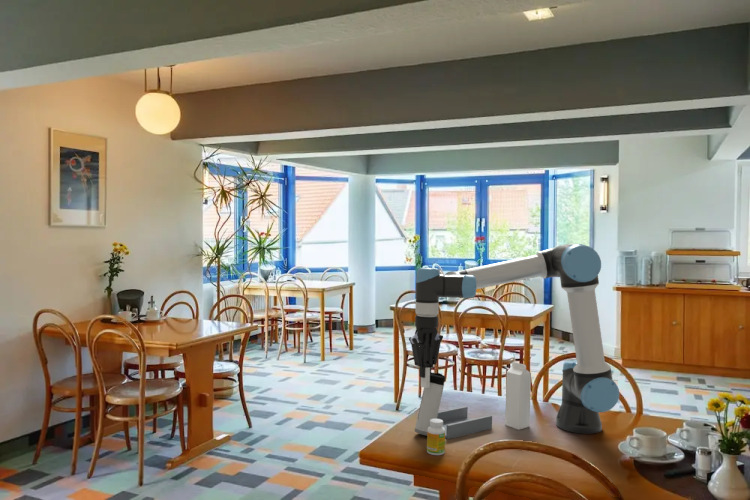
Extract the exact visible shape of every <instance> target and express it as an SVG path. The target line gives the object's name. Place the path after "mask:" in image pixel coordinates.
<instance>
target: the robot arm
mask: <svg viewBox="0 0 750 500" xmlns="http://www.w3.org/2000/svg"><path fill="white" fill-rule="evenodd" d="M601 268H602V261H601V257H600V255H599V254H598V252H597V251H596V250H595V249H594V248H593V247H591V246H588V245H585V244H582V243H565V244H561V245H557V246H554V247H551V248H547V249H544V250H540V251H537V252H536V253H535V254H534V255H531V256H525V257H524V256H523V257H521V258H514V259H510V260H506V261H505V260H504V261H501V262H496V263H490V264H486V265H480V266H475V267H471V268H467V269H466V268H465V269H461V270H457V271H454V270H453V271H448V272H446V273H443V274H442V273H441V272H440V269H439V268H437V267H420V268H418V269H417V270H416V276H415V277H416V278H415V312H414V313H415V314H416V315H415V316H414V326H415V332H414V335H413V336H412V337H411V336H410V337H408V342H409V343H410V345H411V351H412V357H413V363H414V365H415V366H417V367H419V377H420V387H421V388H423V389H424V388H430V377H431V373H432V368H434V367H435V366H434V365H437V362H438V358H439V352H440V347H441V343H442V341H443V339H444V335H442V334H440V333H438V332H439V331H438V329H437V328H438V327H439V316H438V315H439V309H440V308H439V303H440V302H439V298H457V299H458V298H460V299H470V298H471V299H472V298H475V297H476V294H477V290H478V289H479V290H480V289H483V288H488V287H489V288H491V287H493V286H499V285H503V284H509V283H512V282H513V283H514V282H519V281H526V280H528V279H529V280H530V279H534V278H539V277H541V278H542V279H549V278H559V279H560V287H561V289H562V290H564V291H565V292H566V295H567V301H568V302H567V303H568V308H569V315H570V322H571V329H572V337H573V343H574V351H575V357H576V360H566V361H565V362H563V366H562V371H561V372H562V384H561V387H562V388H561V404H560V407H559V408H558V412H557V414H556V419H555V425H556V426H557V427H558V428H559V429H561V430H564V431H566V432H571V433H575V434H576V433H577V434H585V435H591V434H593V435H594V434H598V433H600V432H602V430H603V429H602V428H603V426H602V425H603V424H602V420H601V417H600V413H605V412H609V411H610V410H612V409H613V408H614V407H615V406H616V404H618V402H619V399H620V389H619V387H618V385H617V384H616V383H617V382H615V380H613V375H612V367H611V365H610V364H608V363H607V362H606V361H605V352H604V346H603V340H602V338H603V337H602V332H601V324H600V318H599V317H600V316H599V311H598V304H597V303H598V302H597V296H596V288H597V287H598V285H599V284H600V281H599V274H600V273H601Z"/></svg>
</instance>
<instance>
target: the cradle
mask: <svg viewBox="0 0 750 500" xmlns="http://www.w3.org/2000/svg"><path fill="white" fill-rule="evenodd" d="M468 408H469V407H468V406H467V405H464V406H461V407H455V408H451V409H446V410H441V411H440V410H439V411H438V415H437V419H441V420H443V426H442V427H443V428H444V429H445V439H447V440H451V439H455V438H459V437H463V436H468V435H472V434H475V433H479V432H484V431H488V430H492V429H493V415H491V414H490V415H485V416H480V417H475V418H471V417H469V416H468V412H469V411H468Z"/></svg>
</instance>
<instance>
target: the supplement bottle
mask: <svg viewBox="0 0 750 500" xmlns="http://www.w3.org/2000/svg"><path fill="white" fill-rule="evenodd" d="M442 426H443V420H441V419H431V420H430V427H428V430H427V437H426V452H427V453H428V454H429V455H432V456H442V455H444V454H445V450H446V447H445V446H446V438H445V429H444V428H443V427H442Z"/></svg>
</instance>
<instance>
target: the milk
mask: <svg viewBox="0 0 750 500" xmlns="http://www.w3.org/2000/svg"><path fill="white" fill-rule="evenodd" d="M531 382H532V373H531V371H530V370H528V369H527V365H526V364H523V363H519V362H516V361H512V362H511V366H510V367H509V369H508V370H507V371H506V381H505V385H506V386H505V387H506V388H505V392H506V393H505V411H504V412H505V416H504V417H505V418H504V425H505V426H506V427H510V428H513V429H515V430H522V429H526V428H529V427H530V421H531V420H530V418H531V417H530V416H531V414H530V413H531V389H532V387H531V386H532V385H531V384H532V383H531Z"/></svg>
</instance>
